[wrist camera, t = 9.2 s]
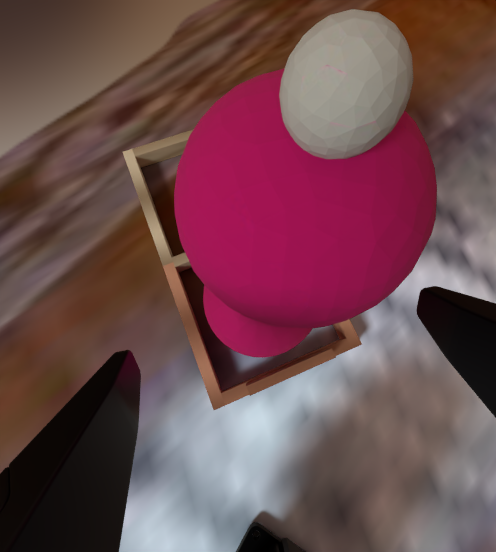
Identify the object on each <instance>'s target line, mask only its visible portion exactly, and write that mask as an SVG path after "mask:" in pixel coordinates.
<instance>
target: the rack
mask: <svg viewBox="0 0 496 552" xmlns="http://www.w3.org/2000/svg"><path fill="white" fill-rule="evenodd" d="M192 131H193V130H191V131H188V132H184V133H181V134H178V135H175V136H172V137H168V138H165V139H162V140H159V141H156V142H153V143H149V144H146V145H143V146H140V147H137V148H134V149H130V150H127V151H124V152H123V154H124V157H125V160H126V163H127V166H128V168H129V171H130V174H131V177H132V180H133V183H134V185H135V188H136V191H137V194H138V197H139V200H140V202H141V205H142V208H143V211H144V214H145V217H146V219H147V222H148V225H149V228H150V231H151V234H152V236H153V239H154V242H155V245H156V248H157V251H158V253H159V256H160V259H161V262H162V265H163V268H164V270H165V273H166V276H167V279H168V282H169V285H170V287H171V290H172V293H173V296H174V299H175V302H176V304H177V307H178V310H179V313H180V316H181V319H182V321H183V324H184V327H185V330H186V333H187V336H188V338H189V341H190V344H191V347H192V350H193V353H194V355H195V358H196V361H197V364H198V367H199V370H200V372H201V375H202V378H203V381H204V384H205V387H206V389H207V392H208V395H209V398H210V401H211V404H212V406H213V409H214V410H216V409H218V408H220V407H222V406H225V405H227V404H229V403H231V402H234V401H236V400H238V399H240V398H243V397H245V396H247V395H253V394H255V393H257V392H259V391H261V390H264V389H266V388H268V387H270V386H273V385H275V384H277V383H279V382H282V381H284V380H286V379H288V378H291V377H293V376H295V375H297V374H300V373H302V372H304V371H306V370H308V369H311V368H313V367H315V366H317V365H320V364H322V363H324V362H326V361H329V360H331V359H333V358H335V357H336V356H337V355H339V354H341V353H344V352H346V351H348V350H350V349H352V348H355V347H357V346H359V345H361V344H362V343H361V341H360V339H359V337H358V335H357V333H356V331H355V329H354V327H353V325H352V323H351V321H350V319H348V320H346V321H343V322H340V323H336V324H333V326H334V328H335V331H336V333H337V335H338V337H339V340H337V341H335V342H332V343H330V344H328V345H325V346H323V347H321V348H319V349H316V350H314V351H312V352H309V353H307V354H305V355H303V356H300V357H298V358H296V359H294V360H291V361H289V362H287V363H284V364H282V365H280V366H278V367H275V368H273V369H271V370H268V371H266V372H264V373H262V374H259V375H257V376H255V377H253V378H250V379H248V380H246V381H243V382H241V383H239V384H237V385H234V386H232V387H230V388H227V389H225V390H223V391H222V389H221V386H220V383H219V381H218V378H217V375H216V372H215V370H214V367H213V364H212V361H211V359H210V356H209V353H208V351H207V348H206V345H205V342H204V340H203V337H202V334H201V331H200V329H199V326H198V323H197V320H196V318H195V315H194V312H193V309H192V307H191V304H190V301H189V299H188V296H187V293H186V290H185V288H184V285H183V282H182V279H181V277H180V274H179V272H182V271H184V270H187V269H190V268H192V266H191V264H190V262H189V260H188V258H187V255H186V253H182V254H180V255H177V256H174V257H173V255H172V252H171V249H170V247H169V244H168V241H167V238H166V236H165V233H164V230H163V227H162V225H161V222H160V219H159V216H158V214H157V211H156V208H155V205H154V203H153V200H152V197H151V195H150V192H149V189H148V186H147V184H146V181H145V178H144V175H143V173H142V170H141V168H142V167H145V166H148V165H151V164H154V163H157V162H161V161H164V160H167V159H170V158H173V157H176V156H179V155H182V154H183V152H184V149H185V146H186V144H187V141H188V138H189V136H190V134H191V133H192Z"/></svg>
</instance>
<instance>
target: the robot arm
mask: <svg viewBox="0 0 496 552" xmlns="http://www.w3.org/2000/svg"><path fill="white" fill-rule="evenodd" d="M417 315H418V317H419V319H420V320H421V322H422V323H423V325H424V326H425V328H426V329H427V331H428V332H429V334H430V335H431V336H432V338H433V339H434V341H435V342H436V344H437V345H438V347H439V348H440V350H441V351H442V353H443V354H444V355H445V357H446V358H447V359H448V361H449V362H450V363H451V364H452V366H453V367H454V368H455V369H456V370H457V372H458V373H459V374H460V375H461V376H462V378H463V379H464V380H465V381H466V382H467V384H468V385H469V386H470V387H471V388H472V390H473V391H474V392H475V393H476V395H477V396H478V397H479V398H480V399H481V401H482V402H483V403H484V404H485V405H486V407H487V408H488V409H489V410H490V411H491V413H492V414H493V415H494V416H495V417H496V304H495V303H492V302H489V301H485V300H482V299H478V298H475V297H472V296H468V295H465V294H461V293H458V292H454V291H451V290H448V289H444V288H441V287H437V286H433V287H428V288H424V289H422V290H421V292H420V295H419V300H418V305H417ZM140 382H141V374H140V369H139V367H138V365H137V363H136V360H135V358H134V356H133V354H132V352H131V351H130V350H125V351H120V352H116V353H114V354H113V355H112V356H111V357H110V358H109V359H108V360H107V361H106V363H105V364H104V365H103V366H102V367H101V368H100V369H99V370H98V371H97V372H96V373H95V374H94V375H93V376H92V377H91V378H90V379H89V381H88V382H87V383H86V384H85V385H84V386H83V387H82V388H81V389H80V390H79V391H78V392H77V393H76V394H75V395H74V396H73V397H72V398H71V400H70V401H69V402H68V403H67V404H66V405H65V406H64V407H63V408H62V409H61V410H60V411H59V412H58V413H57V414H56V415H55V416H54V418H53V419H52V420H51V421H50V422H49V423H48V424H47V425H46V426H45V427H44V428H43V429H42V430H41V431H40V432H39V433H38V434H37V436H36V437H35V438H34V439H33V440H32V441H31V442H30V443H29V444H28V445H27V446H26V447H25V448H24V449H23V450H22V451H21V452H20V453H19V455H18V456H17V457H16V458H15V459H14V460H13V461H12V462H11V463H10V464H9V467H7V468H5V469H4V470H3V471H2V472H1V473H0V552H119V547H120V540H121V534H122V528H123V522H124V515H125V509H126V503H127V496H128V490H129V484H130V478H131V471H132V465H133V459H134V453H135V446H136V440H137V433H138V424H139V405H140ZM254 531H259V533H260V534H259V535H258V536H256V537H255V536H253V534H252V533H253V532H254ZM236 552H305V551H304V550H303V549H301V548H300V547H299V546H297V545H296V544H295V543H293V542H292V541H290V540H289V539H288V538H282V539H280V538H278V537H277V536H276V535H274V534H273V533H272V532H270V531H269V530H268V529H266V528H265V527H264V526H262V525H261V524H259V523H252V524H251V525H250V526H249V528H248V530H247V532H246V534H245V536H244V538H243V539H242V541H241V543H240V545H239V547H238V549H237V551H236Z"/></svg>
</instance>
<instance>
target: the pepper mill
mask: <svg viewBox="0 0 496 552" xmlns="http://www.w3.org/2000/svg"><path fill="white" fill-rule="evenodd" d="M412 83H413V67H412V55H411V52H410V49H409V47H408V44H407V41H406V39H405V37H404V36H403V35H402V33H401V32H400V30H399V29H398V28H397V26H396V25H395V24H394V23H393V22H391V21H390V20H388V19H387V18H386V17H384V16H383V15H381V14H380V13H377V12H369V11H362V10H354V9H352V10H348V11H344V12H340V13H336V14H333V15H329V16H328V17H326V18H325V19H323V20H322V21H320V22H318V23H317V24H316V25H315V26H314V27H312V28H311V29H310V30H309V31H308V32H307V33H306V34H305V35H304V36H303V37H302V39H301V40H300V41H299V43H298V44H297V46H296V47H295V49H294V50H293V52H292V53H291V54H290V56H289V58H288V61H287V64H286V67H285V69H282V70H278V71H274V72H270V73H266V74H262V75H259V76H257V77H255V78H252V79H250V80H248V81H246V82H243V83H241V84H239V85H237V86H236V87H234V88H233V89H232V90H230V91H229V92H228V93H227V94H225V95H224V96H223V97H222V98H220V99H219V100H218V101H217V102H215V103H214V105H213V106H212V107H211V108H210V109H209V110H208V111H207V113H206V114H205V115H204V116H203V117H202V118H201V119H200V121H199V122H198V124H197V125H196V127H195V128H194V130H193V131H192V133H191V134H190V136H189V138H188V141H187V144H186V146H185V149H184V152H183V154H182V157H181V160H180V162H179V165H178V170H177V177H176V184H175V191H174V205H175V217H176V223H177V228H178V233H179V237H180V241H181V244H182V247H183V249H184V251H185V253H186V255H187V258H188V260H189V262H190V264H191V266H192V268H193V271H194V272H195V274H196V275H197V276H198V277H199V279H200V280H201V281H202V282H203V284H204V294H203V303H204V310H205V315H206V318H207V321H208V323H209V325H210V327H211V329H212V331H213V332H214V333H215V335H216V336H217V337H218V338H219V339H220V340H221V341H222V342H223V343H224V344H225V345H226V346H228V347H229V348H231V349H232V350H234V351H236V352H239V353H241V354H244V355H247V356H252V357H270V356H276V355H279V354H282V353H284V352H287V351H289V350H290V349H292V348H294V347H295V346H296V345H298V344H299V343H300V342H301V341H303V340H304V339H305V337H306V336H307V335H308V334H309V333H310V331H311V330H312V328H318V327H325V326H329V325H333V324H336V323H340V322H343V321H346V320H348V319H350V318H352V317H354V316H356V315H358V314H360V313H362V312H364V311H366V310H368V309H370V308H372V307H374V306H376V305H377V304H378V303H380V302H381V301H382V300H383V299H385V298H386V297H387V296H388V295H390V294H391V293H392V292H393V291H394V290H395V289H396V288H397V287H398V286H399V285H400V284H401V283H402V281H403V280H404V279H405V278H406V277H407V276H408V275H409V274H410V273H411V272H412V270H413V268H414V266H415V265H416V263H417V261H418V259H419V257H420V255H421V253H422V251H423V249H424V247H425V246H426V244H427V242H428V240H429V238H430V236H431V233H432V230H433V226H434V222H435V217H436V199H437V184H436V176H435V168H434V165H433V161H432V158H431V155H430V152H429V149H428V146H427V144H426V142H425V140H424V138H423V136H422V134H421V132H420V130H419V128H418V126H417V124H416V122H415V121H414V120H413V119H412V118H411V117H410V116H409V115H408V114H407V112H406V111H405V108H406V105H407V103H408V100H409V97H410V92H411V88H412Z"/></svg>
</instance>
